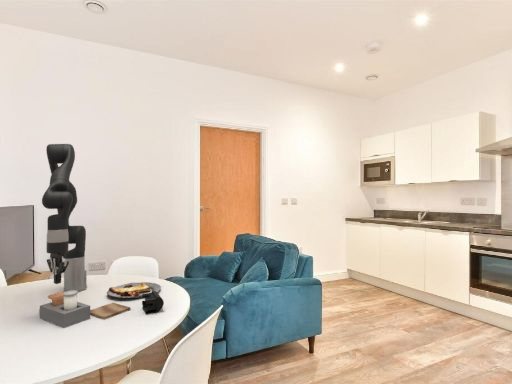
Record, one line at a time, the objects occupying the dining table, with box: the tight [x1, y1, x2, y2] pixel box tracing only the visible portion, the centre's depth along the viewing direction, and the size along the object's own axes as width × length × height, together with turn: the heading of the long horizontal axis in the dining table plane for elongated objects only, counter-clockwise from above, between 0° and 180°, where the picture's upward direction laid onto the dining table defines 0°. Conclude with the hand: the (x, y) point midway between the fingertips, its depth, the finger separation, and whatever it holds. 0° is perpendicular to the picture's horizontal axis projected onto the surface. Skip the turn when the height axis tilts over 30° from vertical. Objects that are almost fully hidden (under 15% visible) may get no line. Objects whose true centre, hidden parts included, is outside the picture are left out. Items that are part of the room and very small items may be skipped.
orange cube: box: [47, 291, 64, 306], centre depth 126 cm, size 5×5×5 cm
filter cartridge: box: [63, 290, 78, 311], centre depth 122 cm, size 5×5×11 cm
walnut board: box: [90, 302, 131, 320], centre depth 130 cm, size 12×12×1 cm
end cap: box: [141, 290, 164, 315], centre depth 132 cm, size 10×7×7 cm
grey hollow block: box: [39, 301, 91, 329], centre depth 124 cm, size 10×18×5 cm, turn 59°
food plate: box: [106, 281, 162, 299], centre depth 155 cm, size 25×23×4 cm
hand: (57, 283), depth 126 cm, fingers closed
